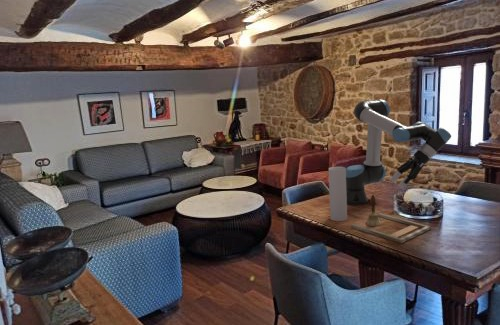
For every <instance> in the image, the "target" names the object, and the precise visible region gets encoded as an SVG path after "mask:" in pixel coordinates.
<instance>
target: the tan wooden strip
mask: <svg viewBox="0 0 500 325" xmlns="http://www.w3.org/2000/svg"><path fill="white" fill-rule="evenodd" d="M417 229H419V227H418V226H414V225H408V226H407V227H404V228H402V229H400V230H397V231H395V232H393V233H391V234H390V235H391V236H394V237H397V238H401V237H402V236H404V235H406V234H407V235H408V234H409V233H410V232H414V231H416V230H417Z"/></svg>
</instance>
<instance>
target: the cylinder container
mask: <svg viewBox="0 0 500 325" xmlns="http://www.w3.org/2000/svg"><path fill="white" fill-rule="evenodd" d="M346 168H347V167H344V166H331V167H328V188H329V189H328V190H329V192H328V193H329V194H328V195H329V213H330V214H329V216H330V220H331V221H334V222H344V221H347V219H348V204H347V196H346Z"/></svg>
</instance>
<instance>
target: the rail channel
mask: <svg viewBox="0 0 500 325" xmlns="http://www.w3.org/2000/svg"><path fill="white" fill-rule="evenodd" d="M377 214H378V218H383V219H387V220H390V221H393V222H394V221H395V222H398V223H401V224H405V225H408V226H411V225H414V226H418V227H419V228H420V229H419V228H418V230H417V229H416V230H414V231H412V233H410V234H409V233H408V234H407V235H405V236H403V237H398V238H397V237H394V236H391V234H387V233H384V232H381V231H377V230H375V229H371V228H370V227H369V228H368V227H365V226H361V225H358V224H355V223H351V224H350V227H351V228H353V229H356V230H359V231H362V232H365V233H368V234H372V235H373V236H374V235H375V236H376V237H377V236H378V237H381V238H385V239H387V240H390V241H393V242H396V243H400V244H403V243H405V242H407V241H410V240H411V239H413V238H415V237H418V236H420V235H421V234H423V233H425V232H428V231H430V230H431V225H426V224H422V223H418V222H415V221H411V220H408V219H404V218H400V217H395V216H392V215H388V214H385V213H380V212H379V213H377Z"/></svg>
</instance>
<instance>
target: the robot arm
mask: <svg viewBox="0 0 500 325" xmlns="http://www.w3.org/2000/svg"><path fill="white" fill-rule="evenodd" d="M390 114H391V107H390V105H389V103H388V101H387V100H384V99H370V100H362V101H359V102H358V103H357V104H356V105H355V107H354V109H353V115H354V117H355V118H356V120H358V121H359V122H361V123H363V124H367V136H366V153H365V154H366V155H365V157H366V158H365V160H364V161H363V163H362V164H363V165H361V164H355V165H354V164H353V165H350V166H348V167H345V168H346V196H347V205H352V206H362V205H365V204H368V200H369V199H368V197H367V193H366V189H365V185H370V184H375V183H376V184H377V183H380V182H382V181H383V180H384V179H385V177H386V174H387V173H386V172H387V171H386V168H385V165H383V162H382V161H381V149H382V134H383V133H382V132H385V133H386V134H387V135H390V136H392V139H393V141H395V142H396V143H406V142H410V141H411V142H413V141H416V140H423V141H424V143H423V144H422V145H421V146H420V147H419V148H418V149H419V150H416V151H415V152H414V153H413V157H414V158H413V157H410V158H409V159H408V160H407V161H405V162H404V163H403V164H401V165H400V166H399V167H398V168H396V170H397V171H396V172H395V173H394V174H393V175H392V176H391V177H390V178H389V181H390V182H392V184H394V183H395V182H396V181H397V180H398V179H399V178H400V177H401V176H403V173H405V172H406V171H408V170H410V171H409V173H408V174H407V175H406V176H405V177H404V178H403V179H402V180H401V181H400V182H399V183H398V184H397V187H398V188H400V189H401V190H403V189H404V188H405V186H407V184H409V182H411V181H412V180H414V181H415V180H416V178H417V177H418V175H419V173H420V172H421V170H422V169H423V168H424V167H425V165H426V164H427V163H428V162H429V161H430V160H431V159H432V158H433V157H435V156H436V154H437V153H438V152H439V150H441V149H442V148H443V147H444V146H445V145H446V144H447V143H448V142H449V140H450V139H451V138H452V135H451V133H450V132H449V131H448V130H446V129H445V128H443V127H439V128H437V129H435V128H433V127H431V126H429V125H428V124H427V123H425V122H422V121H417V122H414V124H412V125H411V126H407V125H404V124H402V123H399V122H398V121H396V120H393V119H391V118H389V115H390Z"/></svg>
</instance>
